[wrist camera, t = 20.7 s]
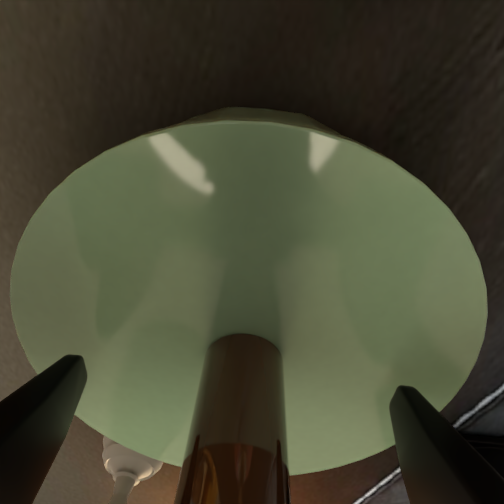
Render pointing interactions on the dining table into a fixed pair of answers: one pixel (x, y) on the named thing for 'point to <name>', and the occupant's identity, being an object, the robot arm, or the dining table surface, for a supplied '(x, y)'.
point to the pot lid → (248, 300)
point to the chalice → (126, 468)
